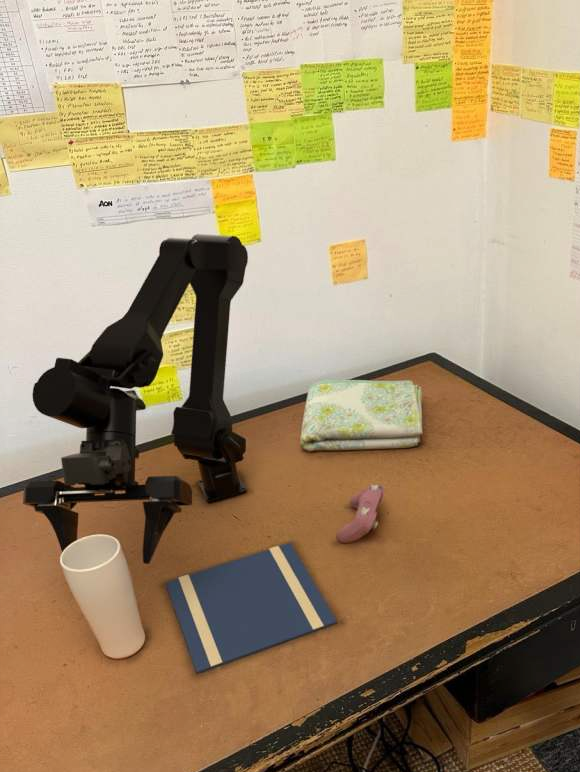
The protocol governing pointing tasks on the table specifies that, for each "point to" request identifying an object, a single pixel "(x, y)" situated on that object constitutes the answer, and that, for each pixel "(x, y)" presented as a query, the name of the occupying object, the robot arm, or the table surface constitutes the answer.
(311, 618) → the cloth
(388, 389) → the towel
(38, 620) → the table surface
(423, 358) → the table surface
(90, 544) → the white tapered cup
